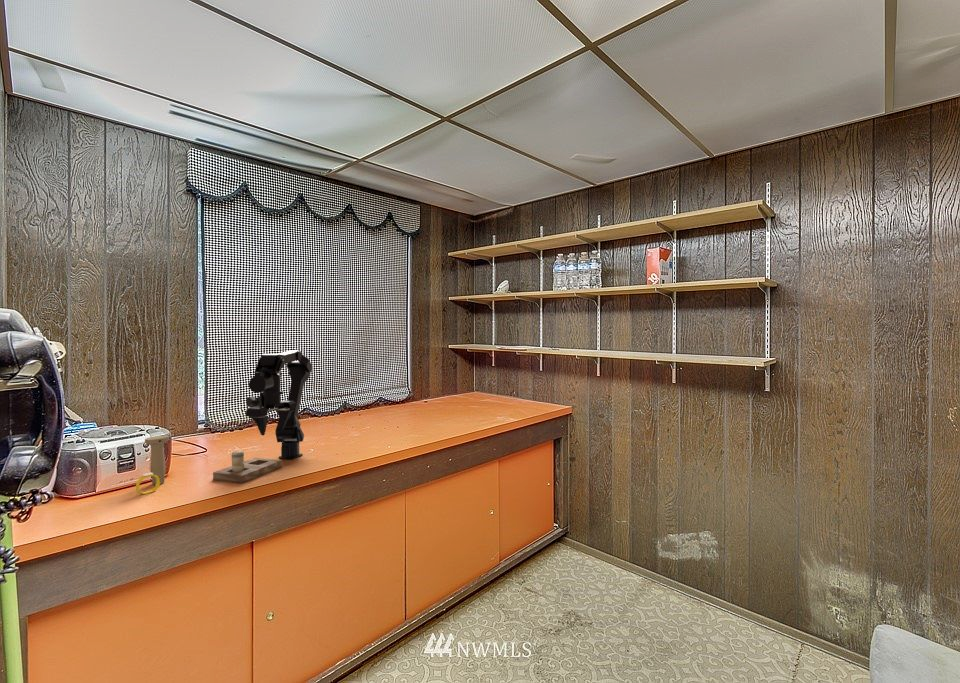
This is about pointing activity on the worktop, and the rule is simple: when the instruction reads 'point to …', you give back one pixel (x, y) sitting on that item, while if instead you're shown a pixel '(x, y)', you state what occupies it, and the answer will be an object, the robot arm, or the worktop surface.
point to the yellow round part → (146, 477)
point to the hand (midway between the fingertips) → (272, 432)
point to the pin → (237, 461)
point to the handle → (157, 457)
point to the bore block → (248, 470)
